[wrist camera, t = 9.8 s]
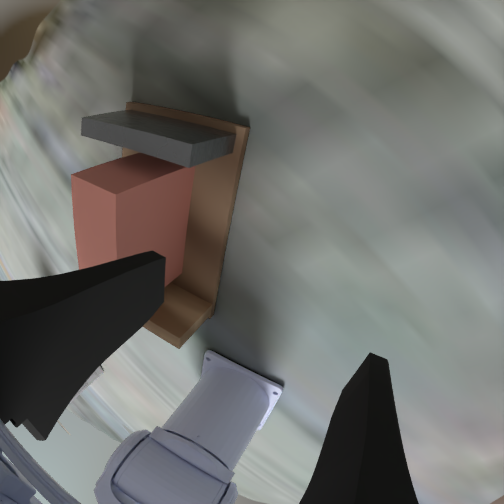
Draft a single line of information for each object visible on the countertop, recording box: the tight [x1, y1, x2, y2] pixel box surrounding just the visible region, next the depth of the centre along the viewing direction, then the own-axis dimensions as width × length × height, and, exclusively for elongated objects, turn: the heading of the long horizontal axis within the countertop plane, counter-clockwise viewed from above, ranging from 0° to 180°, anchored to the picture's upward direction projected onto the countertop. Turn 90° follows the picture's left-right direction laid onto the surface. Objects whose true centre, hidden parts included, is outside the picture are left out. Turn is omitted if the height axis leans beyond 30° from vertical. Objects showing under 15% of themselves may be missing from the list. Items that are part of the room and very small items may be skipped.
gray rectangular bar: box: [81, 110, 237, 168], centre depth 17 cm, size 1×9×4 cm, turn 78°
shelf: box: [122, 102, 250, 349], centre depth 21 cm, size 15×10×5 cm, turn 168°
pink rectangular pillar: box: [71, 153, 195, 287], centre depth 20 cm, size 9×4×7 cm, turn 167°
